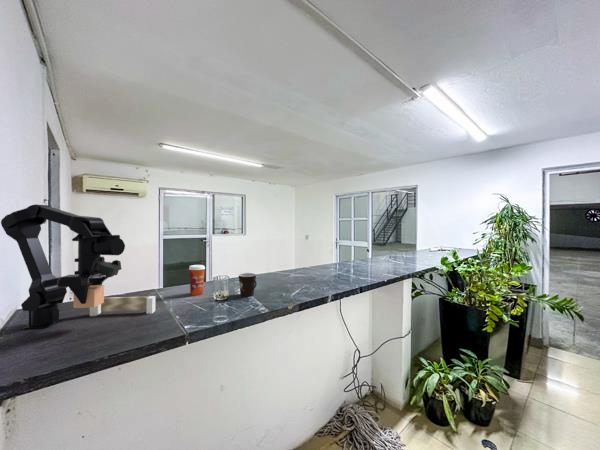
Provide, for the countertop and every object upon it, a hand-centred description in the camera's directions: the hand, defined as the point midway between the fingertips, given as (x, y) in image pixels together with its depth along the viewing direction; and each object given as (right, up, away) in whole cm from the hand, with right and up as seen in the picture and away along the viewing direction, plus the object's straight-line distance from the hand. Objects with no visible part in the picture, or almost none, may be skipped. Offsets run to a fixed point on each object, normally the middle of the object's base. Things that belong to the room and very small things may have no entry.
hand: (89, 301), depth 82 cm
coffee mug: (+45, -10, +38) cm, 60 cm away
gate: (+3, -8, +13) cm, 15 cm away
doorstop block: (0, -1, 0) cm, 1 cm away
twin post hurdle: (+2, -9, +13) cm, 15 cm away
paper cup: (+19, -9, +40) cm, 45 cm away
